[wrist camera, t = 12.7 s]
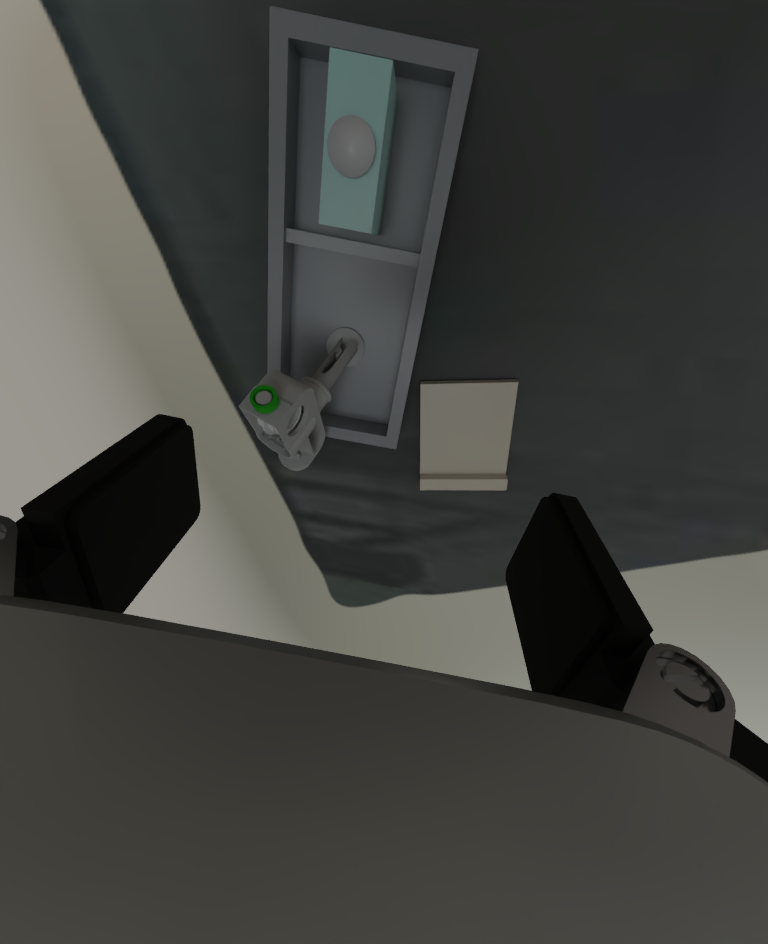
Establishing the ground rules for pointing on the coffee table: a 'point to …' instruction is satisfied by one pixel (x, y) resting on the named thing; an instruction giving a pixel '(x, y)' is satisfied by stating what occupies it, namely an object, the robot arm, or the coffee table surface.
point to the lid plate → (465, 433)
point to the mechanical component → (295, 409)
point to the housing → (357, 205)
